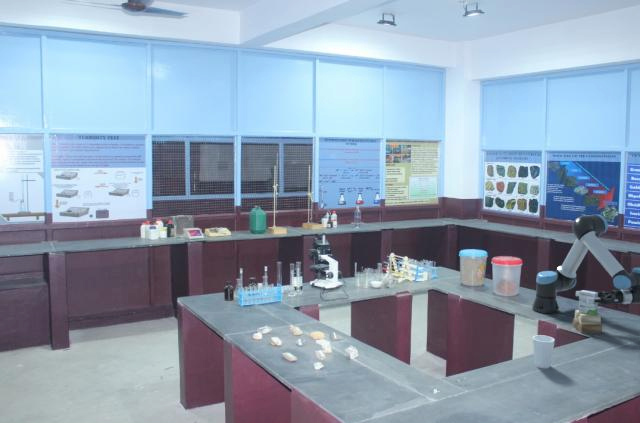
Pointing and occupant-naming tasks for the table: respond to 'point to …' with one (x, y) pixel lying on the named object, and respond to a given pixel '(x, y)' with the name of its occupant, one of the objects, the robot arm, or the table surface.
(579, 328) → the bottom block
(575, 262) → the robot arm
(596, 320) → the top block
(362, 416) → the table surface
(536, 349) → the foam cup
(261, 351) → the table surface
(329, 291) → the table surface
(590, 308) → the ink box
